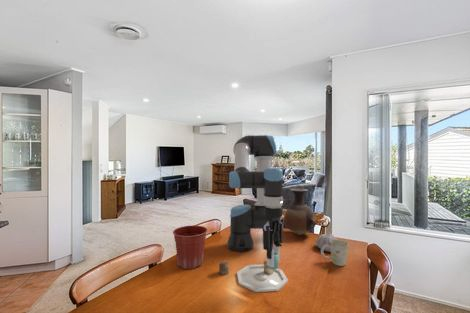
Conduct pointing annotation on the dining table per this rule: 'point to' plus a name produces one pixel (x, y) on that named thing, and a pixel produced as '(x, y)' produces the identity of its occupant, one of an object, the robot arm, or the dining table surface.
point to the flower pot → (190, 246)
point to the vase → (299, 215)
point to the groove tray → (261, 278)
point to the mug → (337, 252)
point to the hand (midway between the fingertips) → (273, 263)
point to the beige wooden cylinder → (266, 269)
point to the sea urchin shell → (325, 241)
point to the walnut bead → (223, 268)
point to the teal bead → (275, 262)
